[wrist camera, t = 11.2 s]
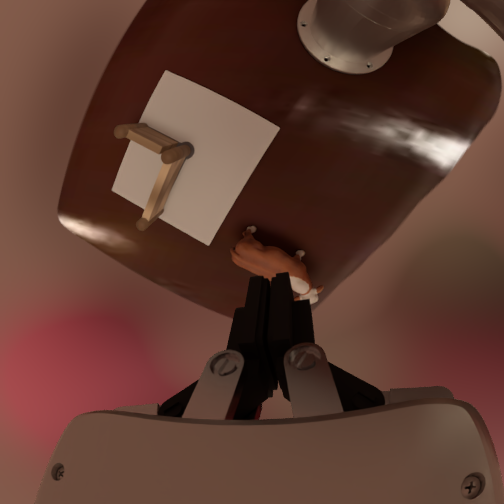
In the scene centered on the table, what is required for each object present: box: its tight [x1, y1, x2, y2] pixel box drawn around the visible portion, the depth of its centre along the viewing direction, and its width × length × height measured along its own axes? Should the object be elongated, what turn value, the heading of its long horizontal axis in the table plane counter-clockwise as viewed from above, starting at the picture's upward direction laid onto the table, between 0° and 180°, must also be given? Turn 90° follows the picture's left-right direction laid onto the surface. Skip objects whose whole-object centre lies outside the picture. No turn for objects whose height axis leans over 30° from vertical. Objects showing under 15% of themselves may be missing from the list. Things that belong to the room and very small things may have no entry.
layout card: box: [112, 70, 280, 246], centre depth 35 cm, size 19×17×1 cm
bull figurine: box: [230, 226, 324, 304], centre depth 36 cm, size 4×13×8 cm, turn 59°
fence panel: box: [136, 145, 191, 231], centre depth 33 cm, size 11×2×6 cm, turn 152°
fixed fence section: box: [114, 123, 178, 154], centre depth 31 cm, size 2×6×6 cm, turn 60°
